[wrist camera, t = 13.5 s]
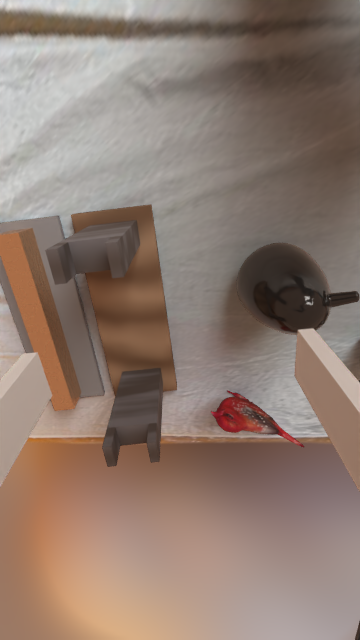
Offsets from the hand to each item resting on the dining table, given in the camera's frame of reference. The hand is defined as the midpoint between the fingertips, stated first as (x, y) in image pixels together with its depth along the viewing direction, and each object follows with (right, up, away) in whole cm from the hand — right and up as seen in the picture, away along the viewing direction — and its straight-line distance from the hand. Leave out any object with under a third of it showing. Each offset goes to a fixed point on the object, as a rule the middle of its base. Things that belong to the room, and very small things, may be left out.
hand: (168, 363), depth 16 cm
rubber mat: (-18, +2, +30) cm, 35 cm away
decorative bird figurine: (+13, -11, +37) cm, 41 cm away
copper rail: (-18, +2, +29) cm, 35 cm away
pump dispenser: (+13, +9, +28) cm, 32 cm away
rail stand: (-6, +4, +30) cm, 31 cm away
